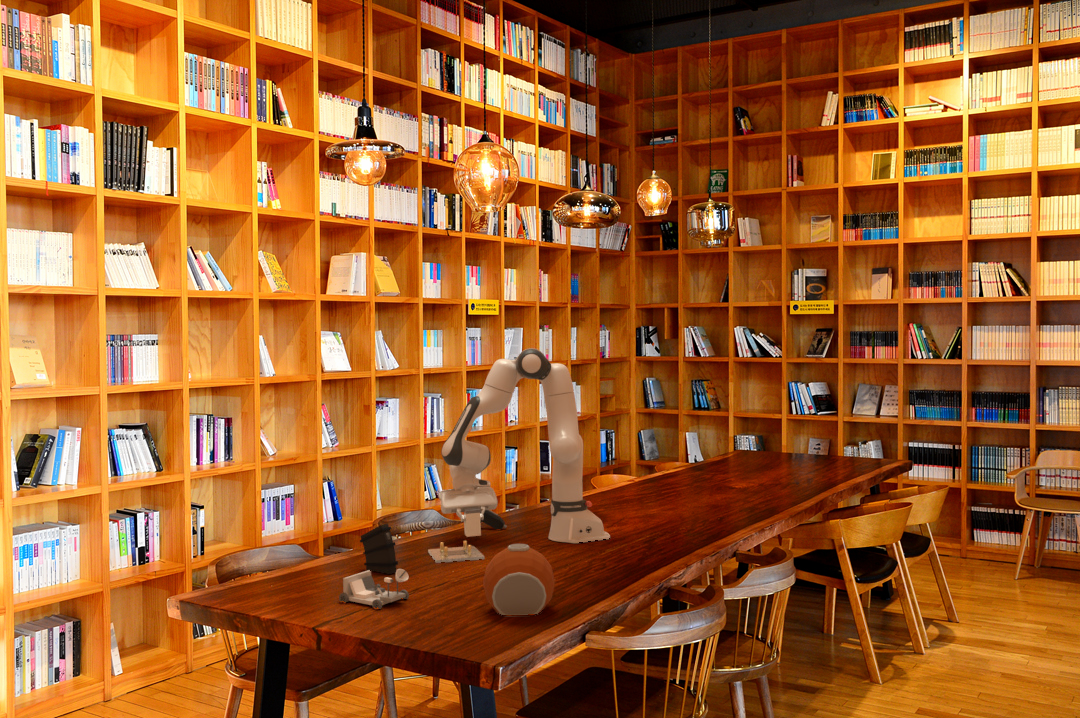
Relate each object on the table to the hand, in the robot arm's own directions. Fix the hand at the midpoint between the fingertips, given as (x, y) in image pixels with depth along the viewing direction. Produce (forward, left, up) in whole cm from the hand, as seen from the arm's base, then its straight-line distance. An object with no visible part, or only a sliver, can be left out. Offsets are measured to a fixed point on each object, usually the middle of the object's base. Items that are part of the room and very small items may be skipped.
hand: (472, 519), depth 313 cm
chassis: (+9, +12, -9) cm, 17 cm away
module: (0, -1, -5) cm, 5 cm away
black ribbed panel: (+36, +24, -10) cm, 44 cm away
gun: (-11, -27, -10) cm, 31 cm away
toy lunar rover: (+40, +58, -10) cm, 71 cm away
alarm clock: (+5, +78, -10) cm, 79 cm away
